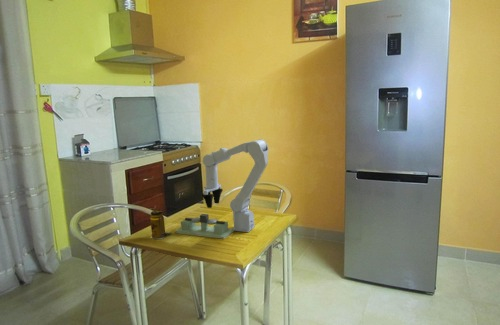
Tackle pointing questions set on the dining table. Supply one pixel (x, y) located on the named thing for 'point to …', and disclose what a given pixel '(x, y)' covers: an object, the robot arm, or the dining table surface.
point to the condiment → (158, 225)
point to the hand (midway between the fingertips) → (213, 205)
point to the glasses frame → (205, 220)
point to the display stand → (205, 229)
